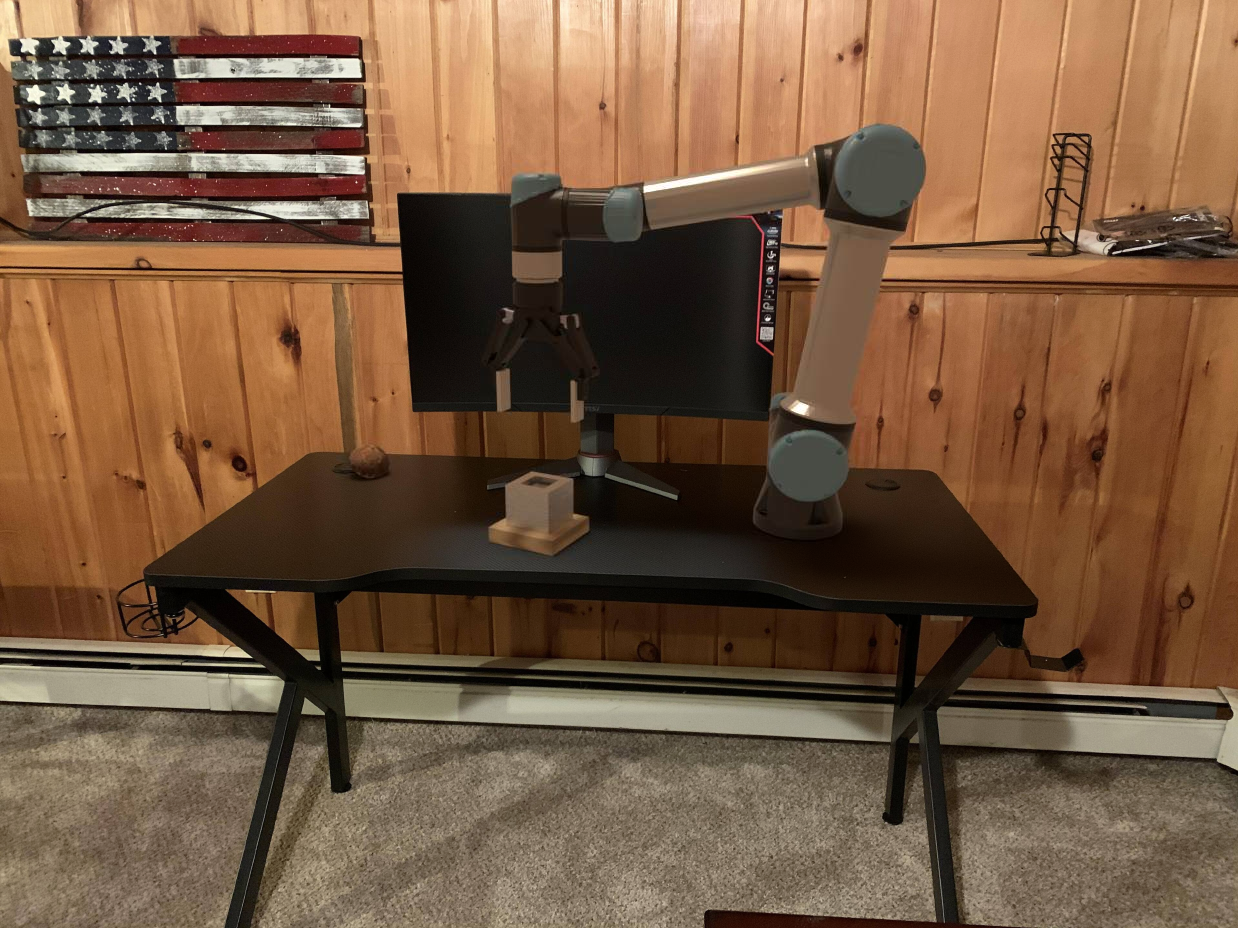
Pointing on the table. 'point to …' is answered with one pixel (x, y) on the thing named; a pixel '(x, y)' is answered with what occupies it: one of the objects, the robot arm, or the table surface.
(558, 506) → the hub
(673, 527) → the table surface
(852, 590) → the table surface
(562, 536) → the block
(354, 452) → the brown round lump
